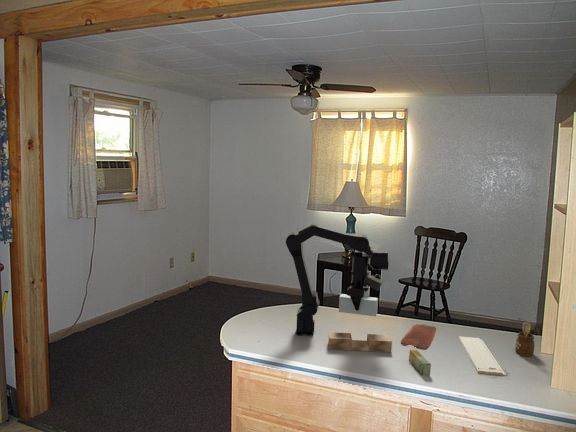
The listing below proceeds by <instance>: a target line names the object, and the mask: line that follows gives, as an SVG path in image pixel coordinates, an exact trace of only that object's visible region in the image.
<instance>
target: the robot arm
mask: <svg viewBox="0 0 576 432" xmlns="http://www.w3.org/2000/svg"><path fill="white" fill-rule="evenodd" d="M312 237H318V238H321V239H326V240H329V241H332V242H336V243H340V244H343V245H345V246H347V247H349V248H350V249H351V250H350V252H348V254H347V256H348V257H349V258H352V265H351V267H352V268H351V269H352V270H351V273H350V274H351V282H350V286H349V287H348V288H347V290H346V294H347V295H348V296H350V297H351V300H352V302H353V305H354V307H355V310H359V307H360V302H361V298H362V297H364V296H365V297H366V292H367V291H369V287H370V288H372V289H374V291H380V288H381V286H382V284H383V282H384V281H383V279H381V278H382V277H381V275H380V274H377V273H376V274H375V275H373V274H372V275H371V274H370V270H369V269H368V267H371V268H372V270H377V271H378V270H380V271H388V270H389V253H388V252H389V251H374V249H373V248H372V247H371V246H370V241H369V238H368V237H367V236H366V235H365V234H359V233H347V232H342V231H340V230H339V231H338V230H336V229H332V228H328V227H324V226H321V225H319V224H317V223H312V224H310V225H309V226H307V227H305V228H303V229H301V230H299V231H292V232H291V233H289V234H288V236H287V237H286V239H285V246H286V247H287V249H288V252H289V254H290V256H291V257H292V259H293V263H294V267H295V271H296V275H297V278H298V283H299V287H300V290H301V306H300V307H299V308H298V310H297V312H296V327H295V328H296V329H295V335H296V336H297V335H298V336H313V335H314V333H315V321H316V320H314V316H315V315H317V313H318V309H319V306H320V304H321V303H320V299H319V296H318V291H315V292H314V291H313V288H312V286H311V281H310V277H309V273H308V270H307V266H306V262H305V257H304V242H306V241H307V240H309V239H311V238H312ZM363 253H364V254H363Z"/></svg>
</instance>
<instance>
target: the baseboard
mask: <svg viewBox="0 0 576 432" xmlns="http://www.w3.org/2000/svg"><path fill="white" fill-rule="evenodd" d="M458 340H459V341H460V343H461V345H462V347H463V349H464V350H465V352H466V354H467V356H468V358H469V359H470V362H471V364H472V365H473V367H474V369H475V371H476V373H477V374H481V375H484V374H485V375H493V376H503V377H504V376H506V377H507V374H509V373H508V372H506V369H505V370H504V369H502V367H501V366H500V364H499V362H498V361H497V360H496V358H495V357H494V355H493V354H492V352H491V351H490V349H489V348H488V346H487V345H486V343H485V341H483V339H480V337H470V336H460V335H459V336H458ZM505 372H506V373H505Z"/></svg>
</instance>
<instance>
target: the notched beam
mask: <svg viewBox="0 0 576 432" xmlns="http://www.w3.org/2000/svg"><path fill="white" fill-rule="evenodd" d="M327 340H328V350H336V351H337V350H341V351H356V350H362V351H361V352H376V351H382V352H381V353H392V350H393V349H392V348H393V347H392V346H393V341H392V338H391V335H389V334H374V333H373V334H372V333H367V335H366V340H364V339H362V340H361V339H353V338H352V332H335V331H334V332H333V331H331V332H330V331H329V332H328V339H327Z"/></svg>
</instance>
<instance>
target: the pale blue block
mask: <svg viewBox="0 0 576 432" xmlns="http://www.w3.org/2000/svg"><path fill="white" fill-rule="evenodd" d="M338 300H339V301H338V312H339V313H344V314H346V313H347V314H353V315H361V316H369V317H377V315H378V305H379V298H378V297H372V296H366V295H365V296H364V297H362V298H361V302H360V307H359V310H355V307H354V305H353V302H352V300H351V297H350V296H348V295H347V293H346V294H345V293H341V294H340V295H339V299H338Z"/></svg>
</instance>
